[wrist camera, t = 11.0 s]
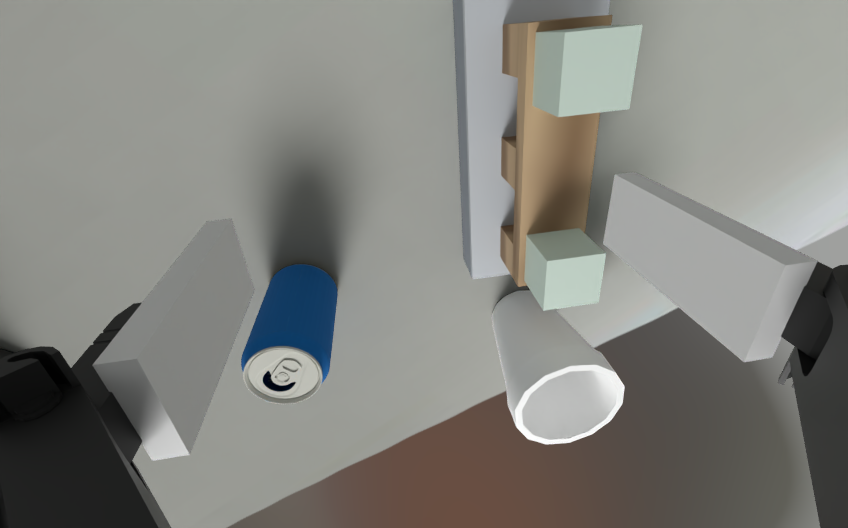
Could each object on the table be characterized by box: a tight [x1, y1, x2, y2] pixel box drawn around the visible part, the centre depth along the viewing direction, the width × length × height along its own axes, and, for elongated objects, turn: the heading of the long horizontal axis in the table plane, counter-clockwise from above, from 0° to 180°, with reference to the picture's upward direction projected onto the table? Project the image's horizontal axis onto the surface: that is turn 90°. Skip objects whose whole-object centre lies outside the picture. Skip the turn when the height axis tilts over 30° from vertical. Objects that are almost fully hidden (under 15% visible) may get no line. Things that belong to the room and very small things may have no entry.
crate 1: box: [532, 25, 643, 117], centre depth 23 cm, size 4×4×4 cm
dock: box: [453, 0, 610, 279], centre depth 34 cm, size 10×22×4 cm, turn 5°
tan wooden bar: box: [500, 15, 612, 287], centre depth 30 cm, size 5×18×5 cm, turn 5°
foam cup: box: [492, 290, 624, 444], centre depth 40 cm, size 10×9×13 cm
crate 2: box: [524, 228, 606, 311], centre depth 29 cm, size 4×4×4 cm
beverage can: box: [241, 264, 337, 404], centre depth 35 cm, size 6×6×12 cm
